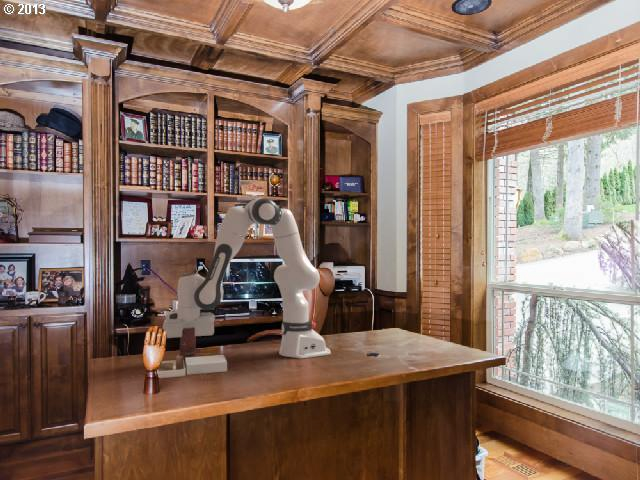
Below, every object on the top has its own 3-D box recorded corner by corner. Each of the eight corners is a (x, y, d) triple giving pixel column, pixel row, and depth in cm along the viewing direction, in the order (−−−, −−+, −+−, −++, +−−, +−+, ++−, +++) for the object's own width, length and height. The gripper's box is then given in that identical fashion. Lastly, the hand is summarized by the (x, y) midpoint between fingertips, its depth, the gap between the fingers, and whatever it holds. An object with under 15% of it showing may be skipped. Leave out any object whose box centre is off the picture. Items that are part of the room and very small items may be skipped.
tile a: (182, 355, 168) (175, 355, 167) (183, 357, 164) (176, 358, 163) (182, 368, 168) (175, 369, 167) (183, 371, 164) (176, 371, 163)
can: (191, 363, 175) (192, 328, 176) (177, 362, 177) (177, 327, 177) (198, 359, 181) (199, 325, 181) (184, 358, 183) (185, 325, 183)
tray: (183, 365, 173) (183, 359, 173) (185, 376, 160) (185, 369, 160) (156, 367, 169) (156, 361, 169) (155, 378, 156) (155, 371, 156)
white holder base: (223, 363, 176) (223, 354, 176) (226, 371, 166) (227, 361, 166) (185, 366, 172) (185, 357, 172) (186, 374, 161) (186, 365, 161)
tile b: (158, 363, 165) (158, 370, 165) (158, 366, 161) (158, 373, 161) (172, 362, 167) (172, 369, 167) (173, 365, 163) (172, 372, 163)
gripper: (214, 310, 186) (213, 343, 186) (162, 313, 179) (161, 347, 179) (215, 313, 180) (215, 347, 180) (162, 315, 173) (161, 351, 173)
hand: (188, 347), depth 179 cm, fingers closed
